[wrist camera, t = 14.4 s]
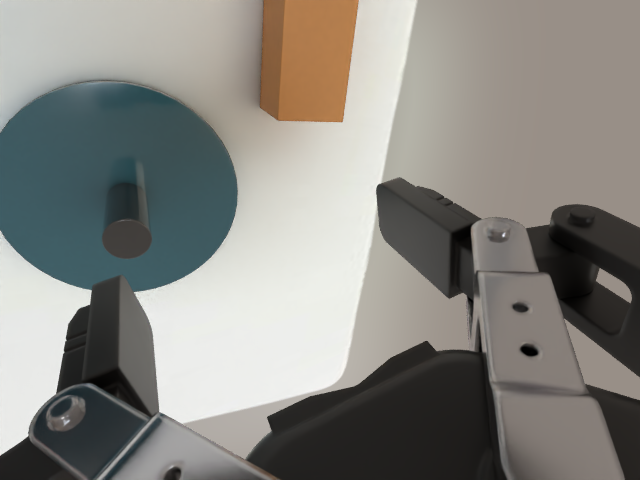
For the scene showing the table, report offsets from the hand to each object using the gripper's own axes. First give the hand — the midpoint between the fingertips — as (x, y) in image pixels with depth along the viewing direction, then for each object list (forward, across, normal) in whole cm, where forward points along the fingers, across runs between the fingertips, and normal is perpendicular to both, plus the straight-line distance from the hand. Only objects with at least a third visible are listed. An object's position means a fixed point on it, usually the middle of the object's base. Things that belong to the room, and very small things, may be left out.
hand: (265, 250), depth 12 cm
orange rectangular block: (+17, -8, -3) cm, 19 cm away
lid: (+16, +6, +3) cm, 18 cm away
